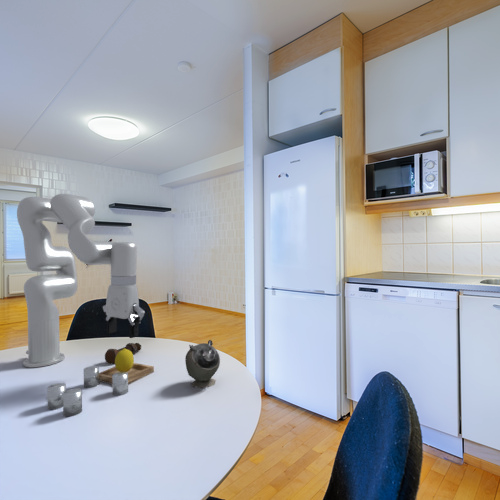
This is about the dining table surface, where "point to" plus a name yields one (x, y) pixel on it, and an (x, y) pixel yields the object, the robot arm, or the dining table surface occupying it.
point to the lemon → (124, 360)
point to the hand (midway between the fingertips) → (122, 334)
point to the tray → (133, 374)
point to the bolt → (112, 353)
